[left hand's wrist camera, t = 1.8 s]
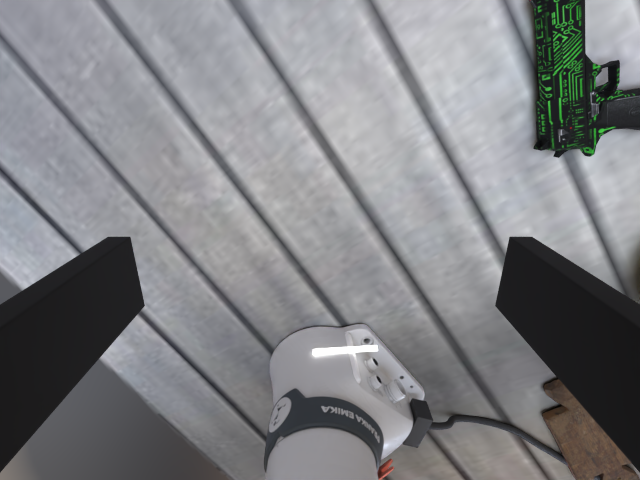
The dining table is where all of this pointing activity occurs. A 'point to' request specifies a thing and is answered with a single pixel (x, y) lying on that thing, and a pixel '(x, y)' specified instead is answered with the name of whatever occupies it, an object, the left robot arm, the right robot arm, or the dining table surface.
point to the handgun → (575, 84)
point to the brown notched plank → (583, 439)
